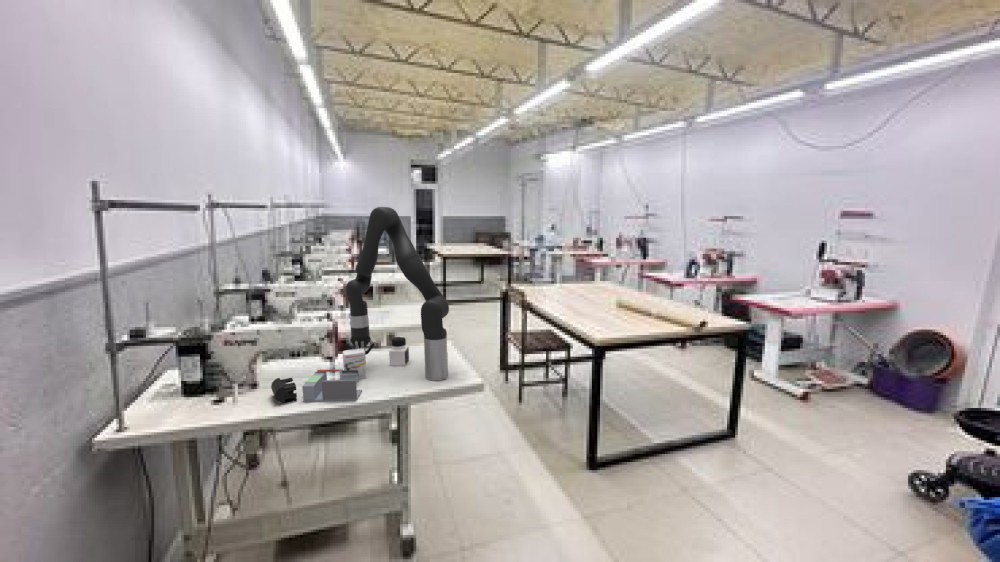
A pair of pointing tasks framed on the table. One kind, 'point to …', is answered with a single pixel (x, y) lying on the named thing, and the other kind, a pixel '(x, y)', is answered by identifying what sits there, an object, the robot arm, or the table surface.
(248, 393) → the table surface
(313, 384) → the gauge body
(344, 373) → the plunger
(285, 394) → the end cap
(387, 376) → the table surface
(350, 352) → the ink box
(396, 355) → the medicine bottle
